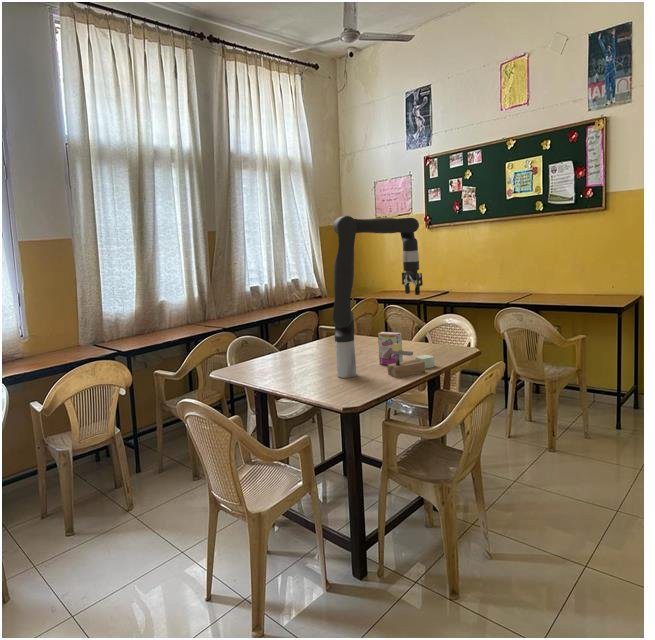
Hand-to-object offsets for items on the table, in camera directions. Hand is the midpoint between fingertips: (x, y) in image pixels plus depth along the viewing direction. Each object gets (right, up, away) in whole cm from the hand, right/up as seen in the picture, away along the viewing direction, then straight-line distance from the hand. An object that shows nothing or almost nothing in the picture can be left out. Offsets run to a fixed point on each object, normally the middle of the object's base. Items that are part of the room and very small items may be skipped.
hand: (412, 294), depth 244 cm
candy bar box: (-8, -35, +14) cm, 39 cm away
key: (-6, -33, -9) cm, 35 cm away
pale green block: (+7, -35, +6) cm, 37 cm away
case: (-4, -38, -5) cm, 38 cm away
